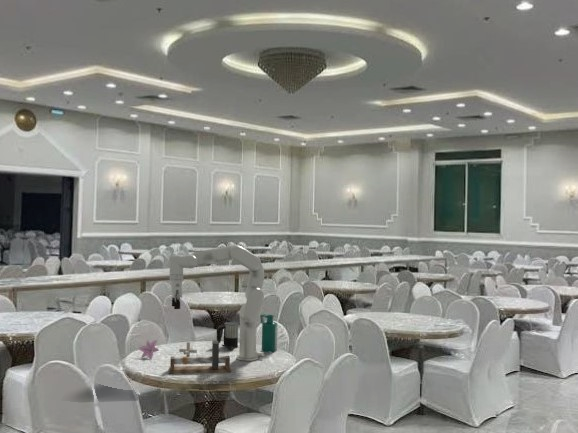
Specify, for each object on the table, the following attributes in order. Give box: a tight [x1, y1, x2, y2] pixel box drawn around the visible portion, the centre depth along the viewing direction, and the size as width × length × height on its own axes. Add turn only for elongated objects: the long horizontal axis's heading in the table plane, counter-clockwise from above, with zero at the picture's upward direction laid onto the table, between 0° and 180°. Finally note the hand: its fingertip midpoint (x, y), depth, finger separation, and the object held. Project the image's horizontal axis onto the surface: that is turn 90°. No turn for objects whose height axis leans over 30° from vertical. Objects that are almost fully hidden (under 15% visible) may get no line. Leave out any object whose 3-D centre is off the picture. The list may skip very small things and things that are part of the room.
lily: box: [137, 339, 160, 360], centre depth 353 cm, size 12×12×10 cm
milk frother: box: [216, 321, 240, 351], centre depth 381 cm, size 14×16×15 cm
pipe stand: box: [168, 355, 232, 375], centre depth 326 cm, size 32×11×7 cm, turn 100°
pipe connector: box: [179, 341, 198, 357], centre depth 349 cm, size 10×10×10 cm
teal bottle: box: [259, 313, 278, 353], centre depth 377 cm, size 10×8×22 cm
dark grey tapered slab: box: [211, 340, 220, 369], centre depth 328 cm, size 3×8×14 cm, turn 10°
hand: (175, 307), depth 345 cm, fingers open, 9 cm apart
